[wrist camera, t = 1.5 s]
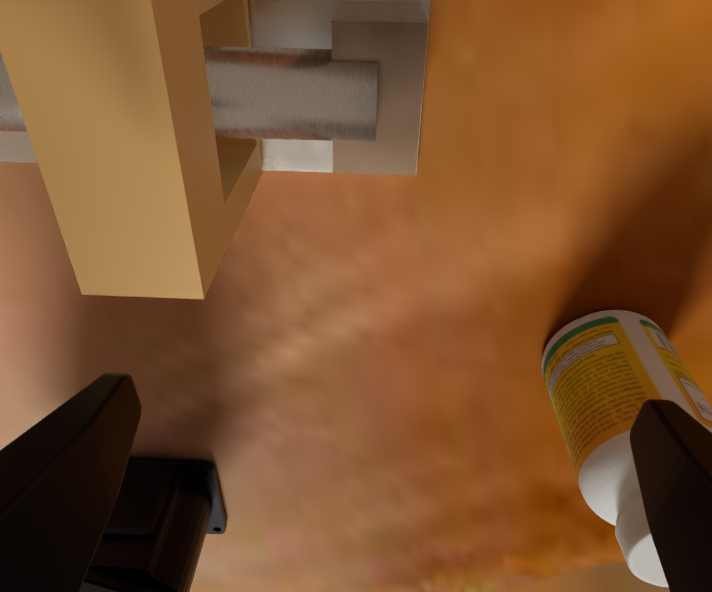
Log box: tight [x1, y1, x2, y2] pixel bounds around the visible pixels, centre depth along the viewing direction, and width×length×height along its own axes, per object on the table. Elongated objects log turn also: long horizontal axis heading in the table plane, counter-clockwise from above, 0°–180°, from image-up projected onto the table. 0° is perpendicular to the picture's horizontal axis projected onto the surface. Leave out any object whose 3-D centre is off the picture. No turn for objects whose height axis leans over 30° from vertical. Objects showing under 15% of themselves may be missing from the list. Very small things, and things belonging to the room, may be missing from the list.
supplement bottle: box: [542, 310, 712, 587], centre depth 21 cm, size 5×5×10 cm
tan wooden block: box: [0, 0, 262, 299], centre depth 14 cm, size 3×7×8 cm, turn 179°
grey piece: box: [0, 0, 431, 175], centre depth 16 cm, size 24×7×5 cm, turn 89°
